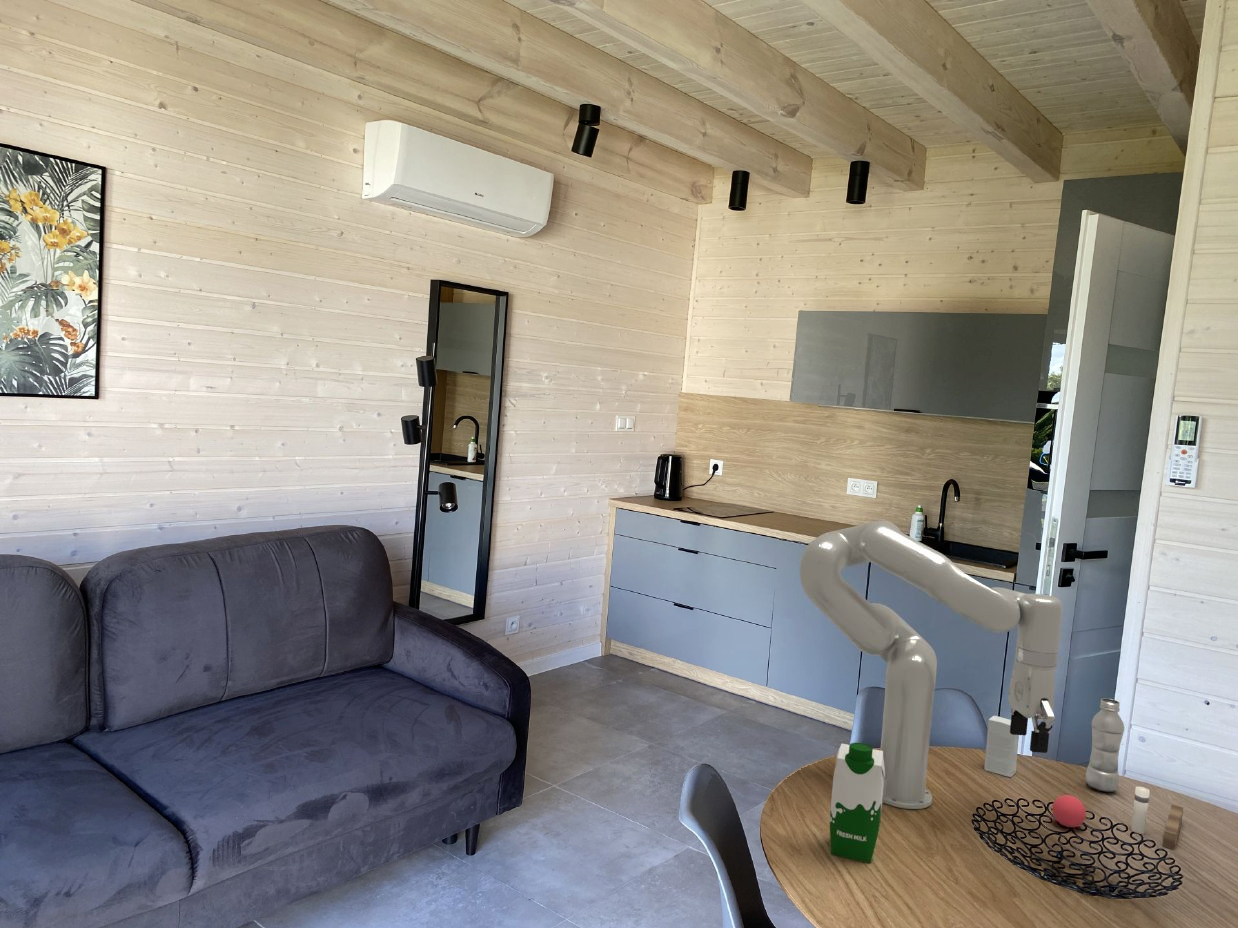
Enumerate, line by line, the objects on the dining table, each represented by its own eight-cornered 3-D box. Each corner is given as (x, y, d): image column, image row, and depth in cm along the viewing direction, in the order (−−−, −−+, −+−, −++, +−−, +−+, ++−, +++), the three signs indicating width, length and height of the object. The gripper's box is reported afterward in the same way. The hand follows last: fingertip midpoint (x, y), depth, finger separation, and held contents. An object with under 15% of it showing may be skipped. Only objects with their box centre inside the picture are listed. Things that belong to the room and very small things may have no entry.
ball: (1059, 831, 174) (1062, 801, 174) (1045, 817, 180) (1048, 788, 180) (1090, 833, 174) (1093, 804, 174) (1075, 819, 180) (1078, 790, 180)
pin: (1135, 833, 176) (1139, 791, 175) (1128, 827, 178) (1133, 785, 178) (1147, 834, 176) (1152, 791, 175) (1140, 828, 178) (1145, 786, 178)
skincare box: (1016, 772, 203) (1021, 721, 202) (1010, 778, 200) (1016, 726, 199) (988, 764, 207) (993, 714, 206) (983, 769, 204) (987, 718, 203)
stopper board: (1174, 849, 170) (1176, 834, 170) (1162, 845, 171) (1164, 830, 171) (1181, 821, 183) (1183, 807, 183) (1170, 818, 184) (1171, 804, 184)
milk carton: (825, 855, 158) (834, 746, 157) (830, 833, 167) (839, 730, 166) (876, 867, 156) (886, 755, 154) (878, 844, 164) (888, 738, 163)
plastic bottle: (1109, 784, 200) (1118, 697, 199) (1123, 797, 193) (1132, 707, 192) (1079, 781, 201) (1088, 694, 199) (1092, 793, 194) (1101, 704, 193)
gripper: (999, 644, 184) (991, 726, 185) (1037, 668, 167) (1028, 758, 168) (1035, 646, 184) (1027, 728, 185) (1077, 671, 167) (1068, 761, 168)
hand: (1028, 742), depth 177 cm, fingers open, 8 cm apart
